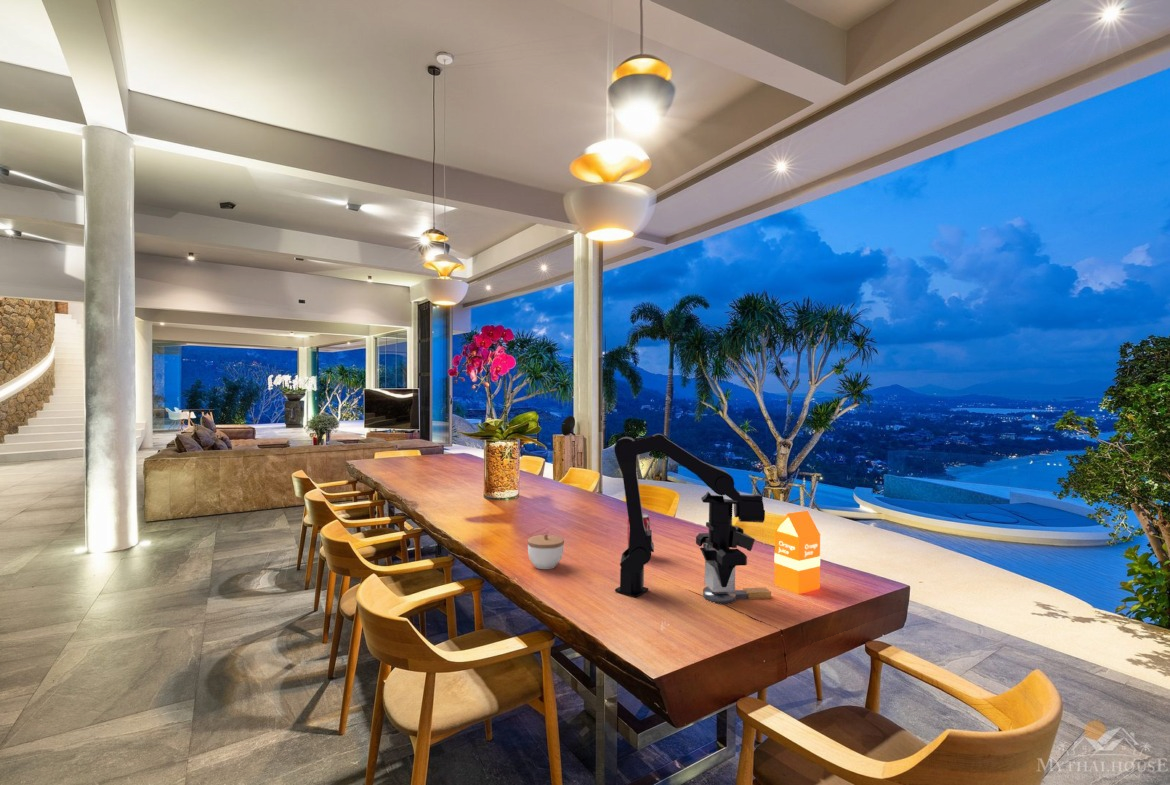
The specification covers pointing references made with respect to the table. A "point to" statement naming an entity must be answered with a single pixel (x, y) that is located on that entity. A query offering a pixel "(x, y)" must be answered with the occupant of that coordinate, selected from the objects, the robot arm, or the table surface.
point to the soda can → (646, 523)
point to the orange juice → (797, 553)
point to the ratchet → (736, 595)
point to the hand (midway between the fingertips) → (719, 582)
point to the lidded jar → (545, 550)
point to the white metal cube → (717, 578)
